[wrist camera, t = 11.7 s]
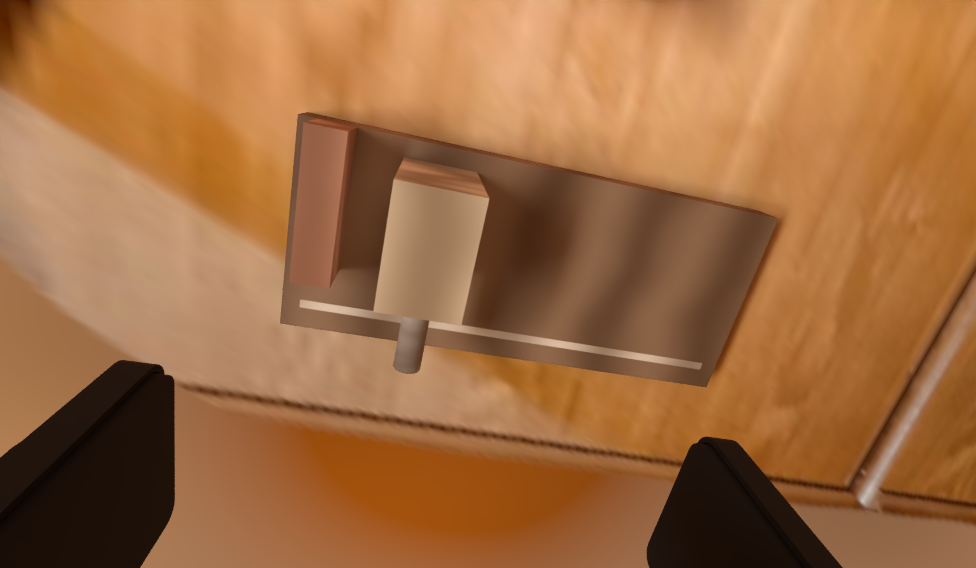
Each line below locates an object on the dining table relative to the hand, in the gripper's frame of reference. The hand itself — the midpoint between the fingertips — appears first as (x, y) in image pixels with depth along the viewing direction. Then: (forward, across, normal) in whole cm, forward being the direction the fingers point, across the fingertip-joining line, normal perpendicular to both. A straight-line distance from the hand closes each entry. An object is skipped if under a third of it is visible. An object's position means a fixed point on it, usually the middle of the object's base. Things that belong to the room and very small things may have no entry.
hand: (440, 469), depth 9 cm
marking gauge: (+20, 0, +3) cm, 21 cm away
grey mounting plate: (+22, -6, +2) cm, 23 cm away
